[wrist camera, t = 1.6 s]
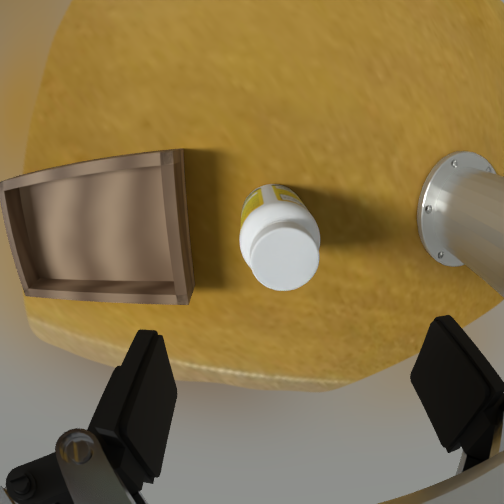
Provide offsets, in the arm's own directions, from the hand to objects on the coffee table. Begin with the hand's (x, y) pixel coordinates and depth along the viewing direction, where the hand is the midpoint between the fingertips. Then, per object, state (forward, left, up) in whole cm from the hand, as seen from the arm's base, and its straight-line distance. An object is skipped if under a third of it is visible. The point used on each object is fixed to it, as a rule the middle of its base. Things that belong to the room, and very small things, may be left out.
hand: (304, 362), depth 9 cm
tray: (+17, 0, -18) cm, 25 cm away
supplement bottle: (0, 0, -18) cm, 18 cm away
